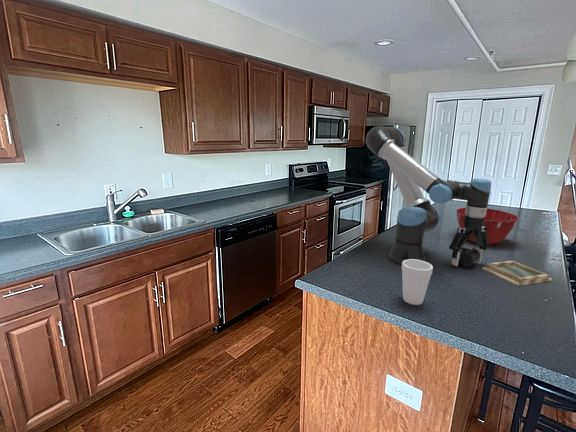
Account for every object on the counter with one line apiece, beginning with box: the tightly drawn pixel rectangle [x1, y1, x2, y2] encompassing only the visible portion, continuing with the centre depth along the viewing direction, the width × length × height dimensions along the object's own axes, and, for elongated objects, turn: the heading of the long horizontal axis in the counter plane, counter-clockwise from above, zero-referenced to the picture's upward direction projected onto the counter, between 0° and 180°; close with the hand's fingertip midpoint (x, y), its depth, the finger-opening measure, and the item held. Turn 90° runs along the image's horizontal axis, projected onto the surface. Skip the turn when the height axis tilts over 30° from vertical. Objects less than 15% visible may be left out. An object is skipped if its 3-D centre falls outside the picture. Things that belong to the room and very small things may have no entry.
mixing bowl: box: [455, 207, 519, 246], centre depth 171 cm, size 28×28×15 cm
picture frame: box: [481, 260, 553, 287], centre depth 130 cm, size 18×16×2 cm
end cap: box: [457, 246, 480, 268], centre depth 138 cm, size 10×7×7 cm
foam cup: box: [401, 259, 434, 306], centre depth 107 cm, size 10×9×13 cm
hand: (466, 263), depth 139 cm, fingers closed on end cap, 12 cm apart
